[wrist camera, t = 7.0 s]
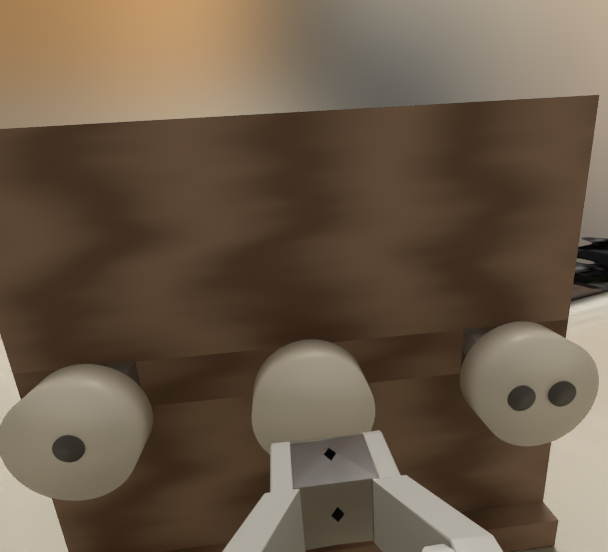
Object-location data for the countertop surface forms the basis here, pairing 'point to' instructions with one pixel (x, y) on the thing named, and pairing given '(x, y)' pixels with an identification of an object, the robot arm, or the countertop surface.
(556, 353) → the two dot button
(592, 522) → the countertop surface
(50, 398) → the one dot button
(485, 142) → the button panel
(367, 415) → the plain button
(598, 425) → the countertop surface
